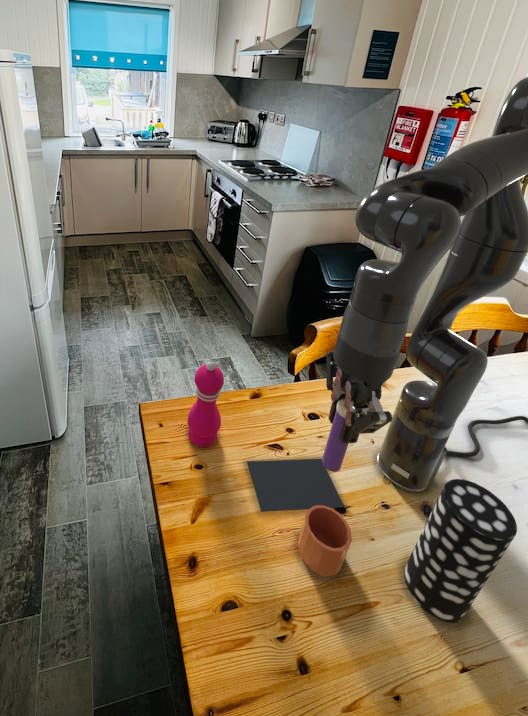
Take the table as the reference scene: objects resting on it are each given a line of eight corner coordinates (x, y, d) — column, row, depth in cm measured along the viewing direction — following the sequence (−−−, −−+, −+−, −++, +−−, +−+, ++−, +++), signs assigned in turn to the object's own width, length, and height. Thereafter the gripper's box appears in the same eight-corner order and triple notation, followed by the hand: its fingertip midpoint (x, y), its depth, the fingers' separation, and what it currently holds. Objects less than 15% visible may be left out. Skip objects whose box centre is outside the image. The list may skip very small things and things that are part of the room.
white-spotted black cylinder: (441, 635, 57) (493, 551, 49) (391, 573, 64) (430, 490, 56) (476, 608, 60) (530, 525, 52) (425, 551, 67) (466, 471, 59)
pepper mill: (217, 452, 83) (228, 378, 75) (183, 445, 84) (190, 371, 76) (220, 425, 89) (230, 354, 81) (188, 419, 90) (195, 348, 83)
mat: (320, 460, 82) (321, 458, 82) (344, 508, 73) (344, 507, 73) (246, 463, 81) (246, 461, 81) (260, 513, 72) (261, 511, 72)
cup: (329, 530, 70) (338, 504, 67) (349, 576, 63) (360, 550, 60) (291, 532, 69) (298, 506, 66) (307, 579, 63) (316, 552, 60)
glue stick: (335, 455, 64) (353, 398, 59) (344, 472, 61) (363, 414, 56) (317, 455, 63) (334, 399, 59) (326, 473, 60) (343, 415, 56)
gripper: (432, 373, 46) (392, 473, 53) (367, 307, 59) (341, 395, 66) (372, 374, 46) (340, 476, 53) (319, 308, 59) (298, 396, 65)
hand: (341, 430), depth 59 cm, fingers closed on glue stick, 3 cm apart
